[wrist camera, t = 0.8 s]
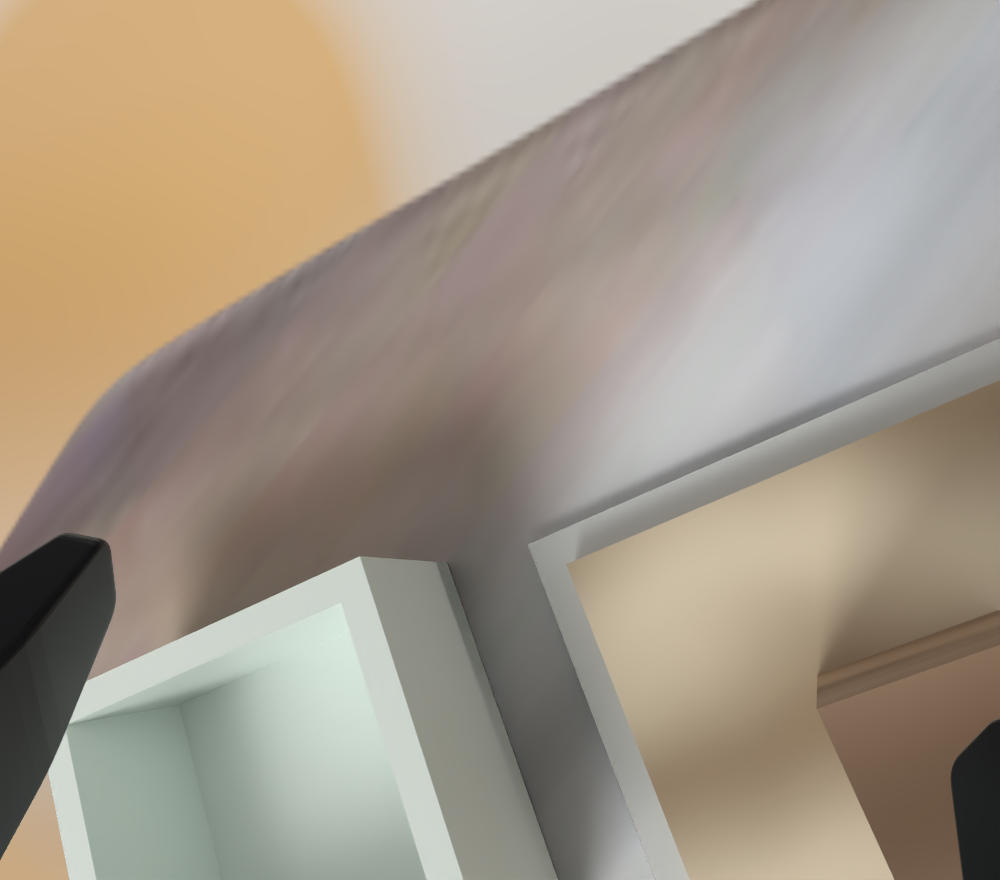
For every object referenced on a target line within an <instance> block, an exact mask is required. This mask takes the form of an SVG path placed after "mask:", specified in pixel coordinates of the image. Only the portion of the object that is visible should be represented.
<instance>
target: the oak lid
mask: <svg viewBox="0 0 1000 880" xmlns="http://www.w3.org/2000/svg"><path fill="white" fill-rule="evenodd" d="M566 565H567V567H568V570H569V572H570V575H571V578H572V580H573V583H574V585H575V588H576V590H577V593H578V595H579V598H580V601H581V603H582V606H583V608H584V611H585V613H586V616H587V618H588V621H589V624H590V626H591V629H592V631H593V634H594V636H595V639H596V641H597V644H598V647H599V649H600V652H601V654H602V657H603V659H604V662H605V664H606V667H607V670H608V672H609V675H610V677H611V680H612V682H613V685H614V687H615V690H616V693H617V695H618V698H619V700H620V703H621V705H622V708H623V710H624V713H625V716H626V718H627V721H628V723H629V726H630V728H631V731H632V733H633V736H634V739H635V741H636V744H637V746H638V749H639V751H640V754H641V756H642V759H643V762H644V764H645V767H646V769H647V772H648V774H649V777H650V779H651V782H652V785H653V787H654V790H655V792H656V795H657V797H658V800H659V802H660V805H661V808H662V810H663V813H664V815H665V818H666V820H667V823H668V825H669V828H670V831H671V833H672V836H673V838H674V841H675V843H676V846H677V849H678V851H679V854H680V856H681V859H682V861H683V864H684V866H685V869H686V872H687V874H688V877H689V879H690V880H963V879H962V871H961V863H960V855H959V847H958V839H957V831H956V823H955V815H954V807H953V799H952V791H951V770H952V766H953V763H954V761H955V759H956V758H957V756H958V755H959V754H960V753H961V752H962V751H963V750H964V749H965V748H966V747H967V746H968V745H969V744H970V743H971V742H972V741H973V740H974V739H975V738H976V737H977V736H978V735H979V733H980V732H981V731H982V730H983V729H984V728H985V727H986V726H987V725H988V724H989V723H991V722H992V721H994V720H996V719H1000V380H999V381H997V382H994V383H992V384H989V385H987V386H985V387H982V388H980V389H978V390H975V391H973V392H971V393H968V394H966V395H964V396H961V397H959V398H956V399H954V400H952V401H949V402H947V403H945V404H942V405H940V406H938V407H935V408H933V409H931V410H928V411H926V412H924V413H921V414H919V415H916V416H914V417H912V418H909V419H907V420H905V421H902V422H900V423H898V424H895V425H893V426H891V427H888V428H886V429H883V430H881V431H879V432H876V433H874V434H872V435H869V436H867V437H865V438H862V439H860V440H858V441H855V442H853V443H850V444H848V445H846V446H843V447H841V448H839V449H836V450H834V451H832V452H829V453H827V454H825V455H822V456H820V457H818V458H815V459H813V460H810V461H808V462H806V463H803V464H801V465H799V466H796V467H794V468H792V469H789V470H787V471H785V472H782V473H780V474H777V475H775V476H773V477H770V478H768V479H766V480H763V481H761V482H759V483H756V484H754V485H752V486H749V487H747V488H745V489H742V490H740V491H737V492H735V493H733V494H730V495H728V496H726V497H723V498H721V499H719V500H716V501H714V502H712V503H709V504H707V505H704V506H702V507H700V508H697V509H695V510H693V511H690V512H688V513H686V514H683V515H681V516H679V517H676V518H674V519H672V520H669V521H667V522H664V523H662V524H660V525H657V526H655V527H653V528H650V529H648V530H646V531H643V532H641V533H639V534H636V535H634V536H631V537H629V538H627V539H624V540H622V541H620V542H617V543H615V544H613V545H610V546H608V547H606V548H603V549H601V550H599V551H596V552H594V553H591V554H589V555H587V556H584V557H582V558H580V559H577V560H575V561H573V562H570V563H568V564H566Z"/></svg>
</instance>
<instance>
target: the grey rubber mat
mask: <svg viewBox="0 0 1000 880" xmlns="http://www.w3.org/2000/svg"><path fill="white" fill-rule="evenodd" d="M999 380H1000V338H999V339H996V340H994V341H992V342H990V343H987V344H985V345H983V346H980V347H978V348H976V349H974V350H971V351H969V352H967V353H964V354H962V355H960V356H957V357H955V358H953V359H951V360H948V361H946V362H944V363H941V364H939V365H937V366H935V367H932V368H930V369H928V370H925V371H923V372H921V373H919V374H916V375H914V376H912V377H909V378H907V379H905V380H903V381H900V382H898V383H896V384H893V385H891V386H889V387H886V388H884V389H882V390H880V391H877V392H875V393H873V394H870V395H868V396H866V397H864V398H861V399H859V400H857V401H854V402H852V403H850V404H848V405H845V406H843V407H841V408H838V409H836V410H834V411H831V412H829V413H827V414H825V415H822V416H820V417H818V418H815V419H813V420H811V421H809V422H806V423H804V424H802V425H799V426H797V427H795V428H793V429H790V430H788V431H786V432H783V433H781V434H779V435H777V436H774V437H772V438H770V439H767V440H765V441H763V442H760V443H758V444H756V445H754V446H751V447H749V448H747V449H744V450H742V451H740V452H738V453H735V454H733V455H731V456H728V457H726V458H724V459H722V460H719V461H717V462H715V463H712V464H710V465H708V466H706V467H703V468H701V469H699V470H696V471H694V472H692V473H689V474H687V475H685V476H683V477H680V478H678V479H676V480H673V481H671V482H669V483H667V484H664V485H662V486H660V487H657V488H655V489H653V490H651V491H648V492H646V493H644V494H641V495H639V496H637V497H635V498H632V499H630V500H628V501H625V502H623V503H621V504H618V505H616V506H614V507H612V508H609V509H607V510H605V511H602V512H600V513H598V514H596V515H593V516H591V517H589V518H586V519H584V520H582V521H580V522H577V523H575V524H573V525H570V526H568V527H566V528H564V529H561V530H559V531H557V532H554V533H552V534H550V535H547V536H545V537H543V538H541V539H538V540H536V541H534V542H531V543H529V544H527V545H528V547H529V550H530V552H531V555H532V558H533V560H534V563H535V566H536V568H537V571H538V573H539V576H540V579H541V581H542V584H543V587H544V589H545V592H546V595H547V597H548V600H549V602H550V605H551V608H552V610H553V613H554V616H555V618H556V621H557V623H558V626H559V629H560V631H561V634H562V637H563V639H564V642H565V644H566V647H567V650H568V652H569V655H570V658H571V660H572V663H573V666H574V668H575V671H576V673H577V676H578V679H579V681H580V684H581V687H582V689H583V692H584V694H585V697H586V700H587V702H588V705H589V708H590V710H591V713H592V715H593V718H594V721H595V723H596V726H597V729H598V731H599V734H600V737H601V739H602V742H603V744H604V747H605V750H606V752H607V755H608V758H609V760H610V763H611V765H612V768H613V771H614V773H615V776H616V779H617V781H618V784H619V786H620V789H621V792H622V794H623V797H624V800H625V802H626V805H627V808H628V810H629V813H630V815H631V818H632V821H633V823H634V826H635V829H636V831H637V834H638V836H639V839H640V842H641V844H642V847H643V850H644V852H645V855H646V858H647V860H648V863H649V865H650V868H651V871H652V873H653V876H654V879H655V880H690V879H689V877H688V874H687V872H686V869H685V866H684V864H683V861H682V859H681V856H680V854H679V851H678V849H677V846H676V843H675V841H674V838H673V836H672V833H671V831H670V828H669V825H668V823H667V820H666V818H665V815H664V813H663V810H662V808H661V805H660V802H659V800H658V797H657V795H656V792H655V790H654V787H653V785H652V782H651V779H650V777H649V774H648V772H647V769H646V767H645V764H644V762H643V759H642V756H641V754H640V751H639V749H638V746H637V744H636V741H635V739H634V736H633V733H632V731H631V728H630V726H629V723H628V721H627V718H626V716H625V713H624V710H623V708H622V705H621V703H620V700H619V698H618V695H617V693H616V690H615V687H614V685H613V682H612V680H611V677H610V675H609V672H608V670H607V667H606V664H605V662H604V659H603V657H602V654H601V652H600V649H599V647H598V644H597V641H596V639H595V636H594V634H593V631H592V629H591V626H590V624H589V621H588V618H587V616H586V613H585V611H584V608H583V606H582V603H581V601H580V598H579V595H578V593H577V590H576V588H575V585H574V583H573V580H572V578H571V575H570V572H569V570H568V567H567V565H566V564H568V563H570V562H573V561H575V560H577V559H580V558H582V557H584V556H587V555H589V554H591V553H594V552H596V551H599V550H601V549H603V548H606V547H608V546H610V545H613V544H615V543H617V542H620V541H622V540H624V539H627V538H629V537H631V536H634V535H636V534H639V533H641V532H643V531H646V530H648V529H650V528H653V527H655V526H657V525H660V524H662V523H664V522H667V521H669V520H672V519H674V518H676V517H679V516H681V515H683V514H686V513H688V512H690V511H693V510H695V509H697V508H700V507H702V506H704V505H707V504H709V503H712V502H714V501H716V500H719V499H721V498H723V497H726V496H728V495H730V494H733V493H735V492H737V491H740V490H742V489H745V488H747V487H749V486H752V485H754V484H756V483H759V482H761V481H763V480H766V479H768V478H770V477H773V476H775V475H777V474H780V473H782V472H785V471H787V470H789V469H792V468H794V467H796V466H799V465H801V464H803V463H806V462H808V461H810V460H813V459H815V458H818V457H820V456H822V455H825V454H827V453H829V452H832V451H834V450H836V449H839V448H841V447H843V446H846V445H848V444H850V443H853V442H855V441H858V440H860V439H862V438H865V437H867V436H869V435H872V434H874V433H876V432H879V431H881V430H883V429H886V428H888V427H891V426H893V425H895V424H898V423H900V422H902V421H905V420H907V419H909V418H912V417H914V416H916V415H919V414H921V413H924V412H926V411H928V410H931V409H933V408H935V407H938V406H940V405H942V404H945V403H947V402H949V401H952V400H954V399H956V398H959V397H961V396H964V395H966V394H968V393H971V392H973V391H975V390H978V389H980V388H982V387H985V386H987V385H989V384H992V383H994V382H997V381H999Z"/></svg>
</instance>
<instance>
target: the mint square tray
mask: <svg viewBox="0 0 1000 880" xmlns="http://www.w3.org/2000/svg"><path fill="white" fill-rule="evenodd" d="M48 773H49V778H50V783H51V788H52V793H53V798H54V802H55V808H56V813H57V819H58V824H59V829H60V833H61V839H62V843H63V849H64V854H65V859H66V864H67V870H68V875H69V879H70V880H558V878H557V875H556V872H555V870H554V867H553V864H552V861H551V858H550V855H549V852H548V849H547V847H546V844H545V841H544V838H543V835H542V832H541V829H540V827H539V824H538V821H537V818H536V815H535V812H534V809H533V807H532V804H531V801H530V798H529V795H528V792H527V789H526V787H525V784H524V781H523V778H522V775H521V772H520V769H519V767H518V764H517V761H516V758H515V755H514V752H513V749H512V747H511V744H510V741H509V738H508V735H507V732H506V729H505V727H504V724H503V721H502V718H501V715H500V712H499V709H498V707H497V704H496V701H495V698H494V695H493V692H492V689H491V687H490V684H489V681H488V678H487V675H486V672H485V669H484V667H483V664H482V661H481V658H480V655H479V652H478V649H477V647H476V644H475V641H474V638H473V635H472V632H471V629H470V626H469V624H468V621H467V618H466V615H465V612H464V609H463V606H462V604H461V601H460V598H459V595H458V592H457V589H456V586H455V584H454V581H453V578H452V575H451V572H450V569H449V566H448V564H447V563H445V562H431V561H418V560H404V559H390V558H377V557H363V556H359V557H357V558H355V559H353V560H350V561H348V562H346V563H344V564H342V565H340V566H337V567H335V568H333V569H331V570H329V571H326V572H324V573H322V574H320V575H318V576H316V577H313V578H311V579H309V580H307V581H305V582H302V583H300V584H298V585H296V586H294V587H292V588H289V589H287V590H285V591H283V592H281V593H278V594H276V595H274V596H272V597H270V598H268V599H265V600H263V601H261V602H259V603H257V604H254V605H252V606H250V607H248V608H246V609H243V610H241V611H239V612H237V613H235V614H233V615H230V616H228V617H226V618H224V619H222V620H219V621H217V622H215V623H213V624H211V625H209V626H206V627H204V628H202V629H200V630H198V631H195V632H193V633H191V634H189V635H187V636H185V637H182V638H180V639H178V640H176V641H174V642H171V643H169V644H167V645H165V646H163V647H160V648H158V649H156V650H154V651H152V652H150V653H147V654H145V655H143V656H141V657H139V658H136V659H134V660H132V661H130V662H128V663H126V664H123V665H121V666H119V667H117V668H115V669H112V670H110V671H108V672H106V673H104V674H102V675H99V676H97V677H95V678H93V679H91V680H88V681H86V683H85V685H84V688H83V690H82V693H81V695H80V697H79V700H78V702H77V705H76V707H75V710H74V712H73V715H72V717H71V720H70V722H69V725H68V727H67V729H66V732H65V734H64V737H63V739H62V741H61V744H60V746H59V748H58V751H57V753H56V755H55V758H54V760H53V762H52V764H51V766H50V768H49V770H48Z"/></svg>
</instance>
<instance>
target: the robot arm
mask: <svg viewBox="0 0 1000 880" xmlns="http://www.w3.org/2000/svg"><path fill="white" fill-rule="evenodd" d="M115 603H116V590H115V581H114V573H113V564H112V556H111V550H110V546H109V545H108V543H107V542H106V541H105V540H102V539H100V538H95V537H90V536H84V535H79V534H74V533H64V534H61V535H58V536H56V537H54V538H53V539H51V540H49V541H48V542H46V543H45V544H43V545H42V546H40V547H38V548H37V549H35V550H34V551H32V552H30V553H29V554H27V555H26V556H24V557H23V558H21V559H19V560H18V561H16V562H15V563H13V564H12V565H10V566H8V567H7V568H5V569H4V570H2V571H1V572H0V859H1V858H2V856H3V854H4V852H5V850H6V848H7V846H8V845H9V843H10V841H11V839H12V837H13V836H14V834H15V832H16V830H17V828H18V826H19V825H20V823H21V821H22V819H23V817H24V815H25V813H26V812H27V810H28V808H29V806H30V804H31V802H32V800H33V799H34V796H35V795H36V793H37V791H38V790H39V788H40V786H41V784H42V782H43V780H44V778H45V776H46V774H47V772H48V770H49V768H50V766H51V764H52V762H53V760H54V758H55V755H56V753H57V751H58V748H59V746H60V744H61V741H62V739H63V737H64V734H65V732H66V729H67V727H68V725H69V722H70V720H71V717H72V715H73V712H74V710H75V707H76V705H77V702H78V700H79V697H80V695H81V693H82V690H83V688H84V685H85V683H86V680H87V678H88V675H89V673H90V670H91V668H92V666H93V663H94V661H95V658H96V656H97V653H98V651H99V648H100V646H101V643H102V641H103V639H104V636H105V634H106V631H107V629H108V626H109V624H110V621H111V619H112V616H113V612H114V608H115ZM951 791H952V799H953V807H954V815H955V823H956V831H957V839H958V847H959V855H960V863H961V871H962V879H963V880H1000V719H996V720H994V721H992V722H991V723H989V724H988V725H987V726H986V727H985V728H984V729H983V730H982V731H981V732H980V733H979V735H978V736H977V737H976V738H975V739H974V740H973V741H972V742H971V743H970V744H969V745H968V746H967V747H966V748H965V749H964V750H963V751H962V752H961V753H960V754H959V755H958V756H957V758H956V759H955V761H954V763H953V766H952V770H951Z"/></svg>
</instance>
